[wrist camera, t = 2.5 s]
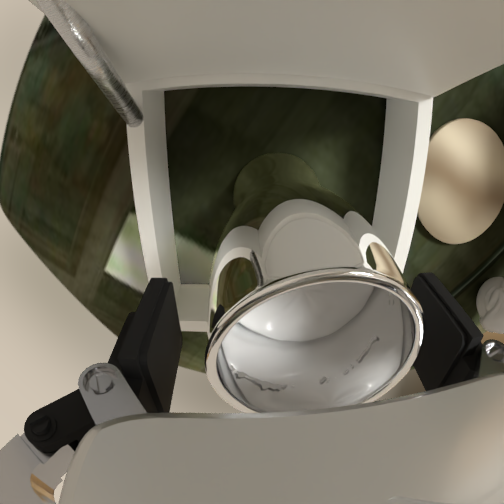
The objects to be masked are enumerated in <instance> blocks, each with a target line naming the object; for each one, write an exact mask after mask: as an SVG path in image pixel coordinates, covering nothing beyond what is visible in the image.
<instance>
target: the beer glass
mask: <svg viewBox="0 0 504 504" xmlns="http://www.w3.org/2000/svg"><path fill="white" fill-rule="evenodd" d="M233 201H234V206H235V210H234V212H233V213H232V215H231V216H230V218H229V220H228V222H227V224H226V226H225V228H224V230H223V232H222V234H221V236H220V239H219V241H218V244H217V247H216V251H215V255H214V260H213V264H212V268H211V274H210V282H209V291H208V306H207V347H206V352H205V370H206V374H207V377H208V379H209V382H210V384H211V386H212V387H213V389H214V390H215V391H216V392H217V394H218V395H219V396H220V397H221V398H222V399H223V400H224V401H226V402H227V403H228V404H230V405H231V406H232V407H234V408H236V409H237V410H239V411H242V412H243V413H271V412H289V411H303V410H314V409H324V408H333V407H341V406H349V405H356V404H362V403H369V402H373V401H375V400H376V399H378V398H379V397H381V396H382V395H384V394H385V393H386V392H388V391H389V390H390V389H391V388H393V387H394V386H395V385H396V384H397V383H398V382H399V381H400V380H401V379H402V378H403V377H404V376H405V375H406V374H407V373H408V371H409V370H410V369H411V367H412V366H413V364H414V363H415V361H416V359H417V358H418V356H419V354H420V351H421V349H422V346H423V342H424V338H425V331H426V322H425V316H424V312H423V309H422V307H421V305H420V303H419V301H418V299H417V298H416V297H415V295H414V294H413V293H412V291H411V289H410V287H409V285H408V284H407V282H406V280H405V278H404V276H403V274H402V272H401V270H400V269H399V267H398V265H397V263H396V262H395V260H394V258H393V257H392V255H391V253H390V252H389V250H388V248H387V247H386V245H385V244H384V243H383V241H382V240H381V238H380V237H379V236H378V234H377V233H376V231H375V230H374V229H373V227H372V226H371V225H370V224H369V223H368V222H367V221H366V220H365V219H364V218H363V216H362V215H361V214H360V213H359V212H358V211H357V210H356V209H355V208H354V207H353V206H351V205H350V204H349V203H348V202H346V201H345V200H343V199H342V198H340V197H339V196H337V195H336V194H335V193H333V192H331V191H330V190H328V189H326V188H324V187H322V186H320V185H319V182H318V179H317V177H316V175H315V173H314V171H313V170H312V169H311V167H310V166H309V165H308V164H307V163H306V162H304V161H303V160H301V159H300V158H298V157H296V156H293V155H290V154H286V153H269V154H265V155H262V156H259V157H257V158H255V159H253V160H252V161H250V162H249V163H248V164H247V165H246V166H245V167H244V168H243V169H242V170H241V172H240V173H239V175H238V177H237V179H236V181H235V184H234V189H233Z"/></svg>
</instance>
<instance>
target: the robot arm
mask: <svg viewBox="0 0 504 504" xmlns="http://www.w3.org/2000/svg"><path fill="white" fill-rule="evenodd" d="M411 291H412V293H413V294H414V295H415V297H416V298H417V299H418V301H419V303H420V305H421V307H422V309H423V312H424V316H425V322H426V331H425V338H424V342H423V346H422V349H421V351H420V354H419V356H418V358H417V359H416V361H415V363H414V364H413V365H414V367H415V369H416V371H417V373H418V375H419V378H420V380H421V381H422V384H423V386H424V388H425V390H426V391H425V392H420V393H416V394H411V395H407V396H402V397H397V398H391V399H387V400H381V401H375V402H369V403H362V404H356V405H349V406H341V407H333V408H324V409H314V410H303V411H289V412H271V413H233V414H232V413H227V414H226V413H225V414H223V413H219V414H217V413H214V414H213V413H212V414H211V413H169V411H170V405H171V400H172V394H173V389H174V384H175V378H176V373H177V368H178V363H179V358H180V353H181V348H182V333H181V328H180V322H179V317H178V311H177V305H176V299H175V293H174V287H173V283H172V282H168V280H167V278H151V279H150V281H149V283H148V286H147V288H146V290H145V292H144V295H143V297H142V299H141V301H140V304H139V306H138V308H137V311H136V312H131V313H129V315H128V316H127V319H126V321H125V323H124V326H123V328H122V330H121V332H120V335H119V337H118V339H117V342H116V344H115V347H114V349H113V351H112V354H111V356H110V359H109V361H108V363H97V364H94V365H92V366H90V367H88V368H86V370H85V371H83V372H82V374H81V375H80V377H79V382H78V385H79V389H78V390H76V391H74V392H72V393H70V394H68V395H66V396H64V397H62V398H60V399H58V400H56V401H54V402H53V403H50V404H48V405H46V406H45V407H42V408H40V409H39V410H37V411H35V412H33V413H32V414H31V415H30V416H29V417H28V418H27V420H26V422H25V426H24V432H25V433H24V434H23V435H22V436H19V435H18V434H17V435H16V436H15V437H14V438H13V439H12V440H11V441H10V442H8V443H7V444H6V445H5V446H4V447H3V448H2V449H1V450H0V504H56V503H55V500H54V490H55V488H56V487H57V485H58V484H59V483H60V482H61V481H62V479H61V477H62V476H63V475H64V474H65V473H66V472H67V474H66V477H65V480H64V484H63V488H62V492H61V496H60V500H59V504H504V344H503V343H501V342H499V341H497V340H487V341H485V342H484V343H483V344H482V343H481V340H482V338H483V334H482V333H481V331H480V330H479V329H478V328H477V326H476V325H475V324H474V322H473V321H472V320H471V318H470V317H469V316H468V315H467V313H466V312H465V311H464V309H463V308H462V307H461V306H460V304H459V303H458V302H457V301H456V300H455V298H454V297H453V296H452V295H451V294H450V292H449V291H448V290H447V289H446V288H445V286H444V285H443V284H442V283H441V282H440V281H439V279H438V278H437V277H436V276H435V275H434V274H433V273H420V274H418V276H417V277H415V279H414V281H413V284H412V288H411Z"/></svg>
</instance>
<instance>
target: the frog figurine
mask: <svg viewBox="0 0 504 504" xmlns="http://www.w3.org/2000/svg"><path fill="white" fill-rule="evenodd" d="M476 305H477V310H478V313H479V315H480V320H479V321H480V323H481V325H482V326H483V328H484V329H486V330H487V331H489V332H496V333H499V334H504V277H493V278H490V279H488V280H487V281H486V282H485V283H484V284H483V285H482V286H481V288H480V289H479V291H478V294H477V299H476Z"/></svg>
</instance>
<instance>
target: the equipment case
mask: <svg viewBox="0 0 504 504" xmlns="http://www.w3.org/2000/svg"><path fill="white" fill-rule="evenodd" d="M29 1H30V2H31V3H32V4H34V5H35V6H36V7H37V8H38V9H40V10H41V11H42V12H43V10H42V9H41V8H40V6H39V5H38V3H37V1H36V0H29ZM63 1H65V2H66V3H67V4H68V5H70V6H71V7H72V8H73V9H74V10H75V11H76V12H77V13H78V14H79V15H80V16H81V17H82V18H83V19H84V20H85V21H86V23H87V24H88V25H89V27H90V28H91V30H92V31H93V33H94V35H95V36H96V38H97V40H98V41H99V43H100V45H101V46H102V48H103V50H104V51H105V53H106V55H107V56H108V58H109V60H110V61H111V63H112V65H113V66H114V68H115V69H116V71H117V73H118V74H119V76H120V78H121V79H122V81H123V83H124V84H125V86H126V87H127V89H128V91H129V92H130V94H131V96H132V97H133V99H134V100H135V102H136V104H137V105H138V107H139V108H140V110H141V112H142V113H143V122H142V124H141V125H140V126H139V127H136V128H132V127H129V126H128V125H127V137H128V149H129V159H130V169H131V177H132V186H133V193H134V201H135V208H136V215H137V221H138V228H139V234H140V240H141V246H142V251H143V257H144V262H145V267H146V272H147V277H148V282H149V281H150V279H151V278H167V280H168V282H172V283H173V287H174V293H175V299H176V305H177V311H178V317H179V322H180V328H181V331H199V332H207V306H208V291H209V284H181V280H180V273H179V266H178V259H177V251H176V243H175V234H174V226H173V216H172V207H171V196H170V185H169V173H168V160H167V145H166V128H165V105H164V91H168V90H178V89H191V88H207V87H239V86H258V87H290V88H306V89H319V90H329V91H339V92H347V93H355V94H362V95H369V96H375V97H381V98H387V101H386V117H385V129H384V140H383V150H382V160H381V168H380V176H379V183H378V191H377V197H376V204H375V210H374V216H373V222H372V227H373V229H374V230H375V231H376V233H377V234H378V236H379V237H380V238H381V240H382V241H383V243H384V244H385V245H386V247H387V248H388V250H389V252H390V253H391V255H392V257H393V258H394V260H395V262H396V263H397V265H398V267H399V269H400V270H401V272H402V274H403V270H404V266H405V263H406V259H407V255H408V251H409V247H410V243H411V239H412V235H413V231H414V226H415V222H416V217H417V213H418V208H419V203H420V197H421V192H422V186H423V181H424V175H425V168H426V161H427V154H428V146H429V138H430V129H431V118H432V105H433V97H436V96H438V95H440V94H442V93H444V92H446V91H448V90H450V89H452V88H454V87H456V86H458V85H460V84H462V83H464V82H466V81H468V80H470V79H472V78H474V77H476V76H478V75H481V74H483V73H485V72H487V71H489V70H491V69H493V68H496V67H498V66H500V65H502V64H504V0H63ZM43 13H44V12H43ZM44 14H45V13H44Z"/></svg>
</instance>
